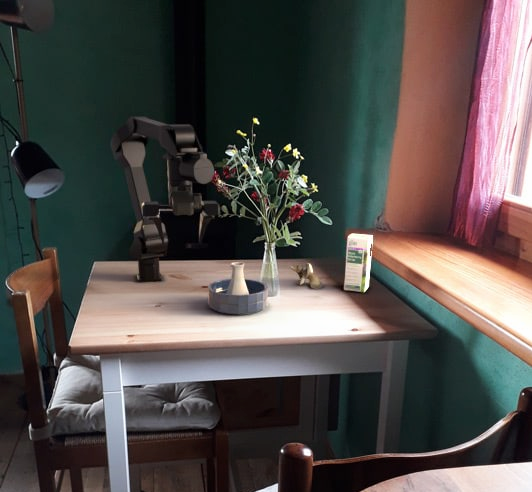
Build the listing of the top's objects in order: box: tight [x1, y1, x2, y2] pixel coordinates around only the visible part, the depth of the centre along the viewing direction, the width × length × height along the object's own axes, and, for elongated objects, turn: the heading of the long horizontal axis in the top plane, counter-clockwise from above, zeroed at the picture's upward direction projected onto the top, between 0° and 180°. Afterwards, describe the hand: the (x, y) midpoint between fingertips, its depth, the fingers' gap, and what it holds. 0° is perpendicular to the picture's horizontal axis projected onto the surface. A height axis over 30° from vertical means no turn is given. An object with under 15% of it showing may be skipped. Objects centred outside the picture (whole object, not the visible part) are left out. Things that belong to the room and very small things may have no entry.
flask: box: [226, 261, 249, 295], centre depth 148 cm, size 7×7×10 cm
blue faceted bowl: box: [207, 278, 269, 316], centre depth 149 cm, size 14×14×5 cm
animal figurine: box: [289, 262, 323, 290], centre depth 168 cm, size 8×7×9 cm
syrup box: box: [343, 233, 374, 293], centre depth 163 cm, size 6×6×14 cm
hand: (181, 243), depth 154 cm, fingers open, 9 cm apart
